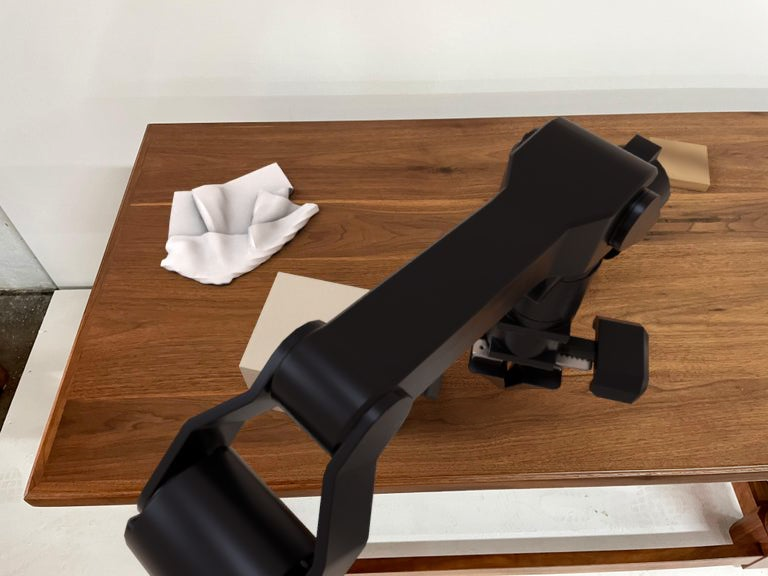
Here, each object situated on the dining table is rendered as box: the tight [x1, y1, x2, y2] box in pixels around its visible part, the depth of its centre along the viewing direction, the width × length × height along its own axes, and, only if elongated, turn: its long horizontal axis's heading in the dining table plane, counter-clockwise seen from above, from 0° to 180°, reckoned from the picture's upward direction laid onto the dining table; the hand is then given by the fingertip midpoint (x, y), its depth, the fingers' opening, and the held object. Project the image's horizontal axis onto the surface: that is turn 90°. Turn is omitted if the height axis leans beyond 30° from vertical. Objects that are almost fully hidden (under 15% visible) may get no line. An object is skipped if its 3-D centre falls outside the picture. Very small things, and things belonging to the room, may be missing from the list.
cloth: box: [160, 162, 320, 286], centre depth 80 cm, size 20×22×2 cm
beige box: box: [238, 271, 371, 414], centre depth 64 cm, size 14×12×10 cm
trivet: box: [648, 136, 711, 193], centre depth 86 cm, size 8×8×2 cm
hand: (503, 384), depth 54 cm, fingers closed
